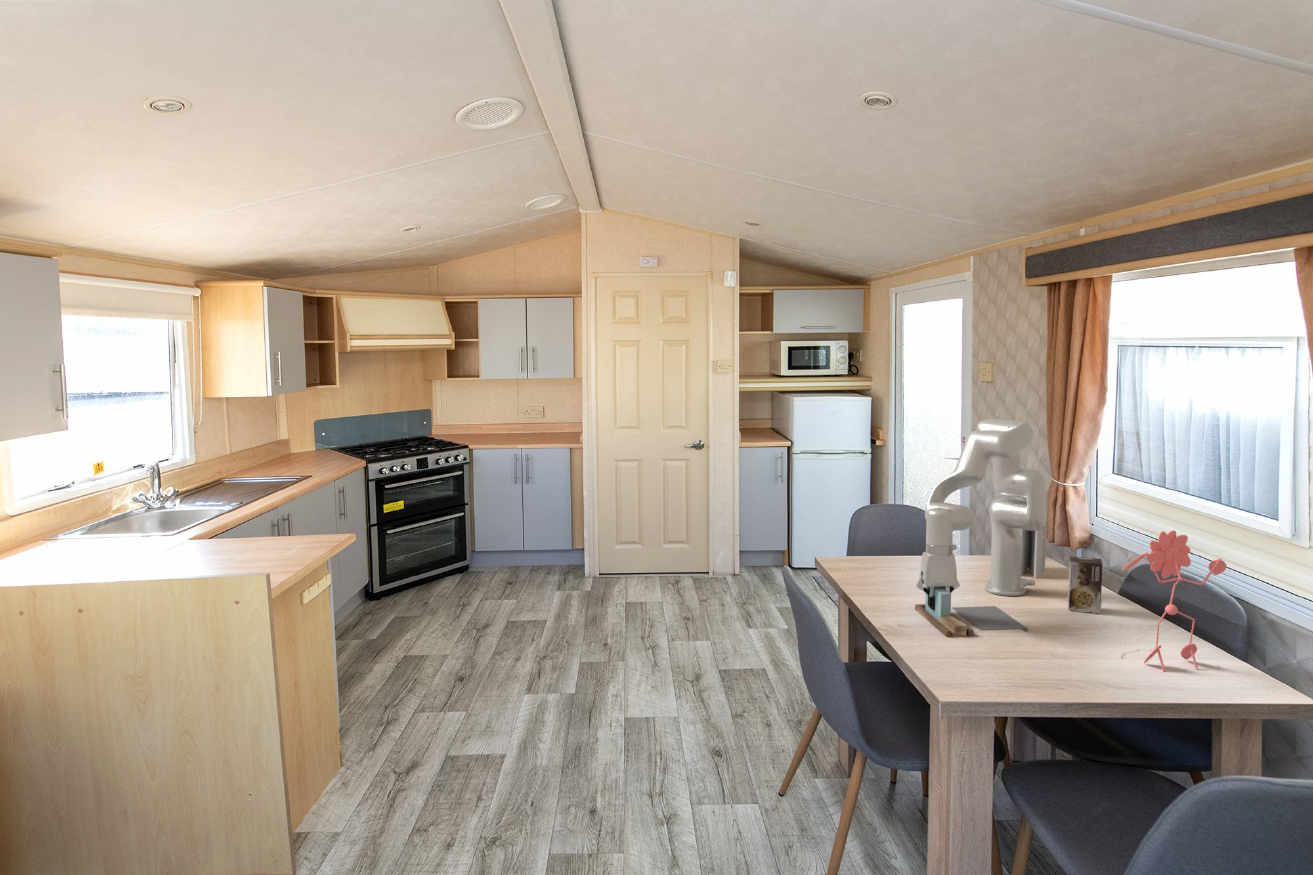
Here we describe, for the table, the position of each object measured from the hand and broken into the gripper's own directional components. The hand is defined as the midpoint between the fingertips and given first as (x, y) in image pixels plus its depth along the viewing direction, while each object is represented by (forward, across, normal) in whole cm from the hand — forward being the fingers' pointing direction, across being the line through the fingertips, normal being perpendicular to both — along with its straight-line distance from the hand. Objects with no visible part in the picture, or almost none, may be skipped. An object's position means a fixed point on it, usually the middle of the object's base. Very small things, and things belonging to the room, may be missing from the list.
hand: (937, 607), depth 249 cm
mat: (+4, -15, +2) cm, 15 cm away
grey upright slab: (+5, -54, -46) cm, 71 cm away
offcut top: (+2, 0, +12) cm, 12 cm away
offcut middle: (+3, 0, +12) cm, 13 cm away
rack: (+4, 0, +4) cm, 6 cm away
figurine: (+4, -46, +36) cm, 58 cm away
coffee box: (+4, -49, -5) cm, 49 cm away
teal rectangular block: (+3, 0, 0) cm, 3 cm away
